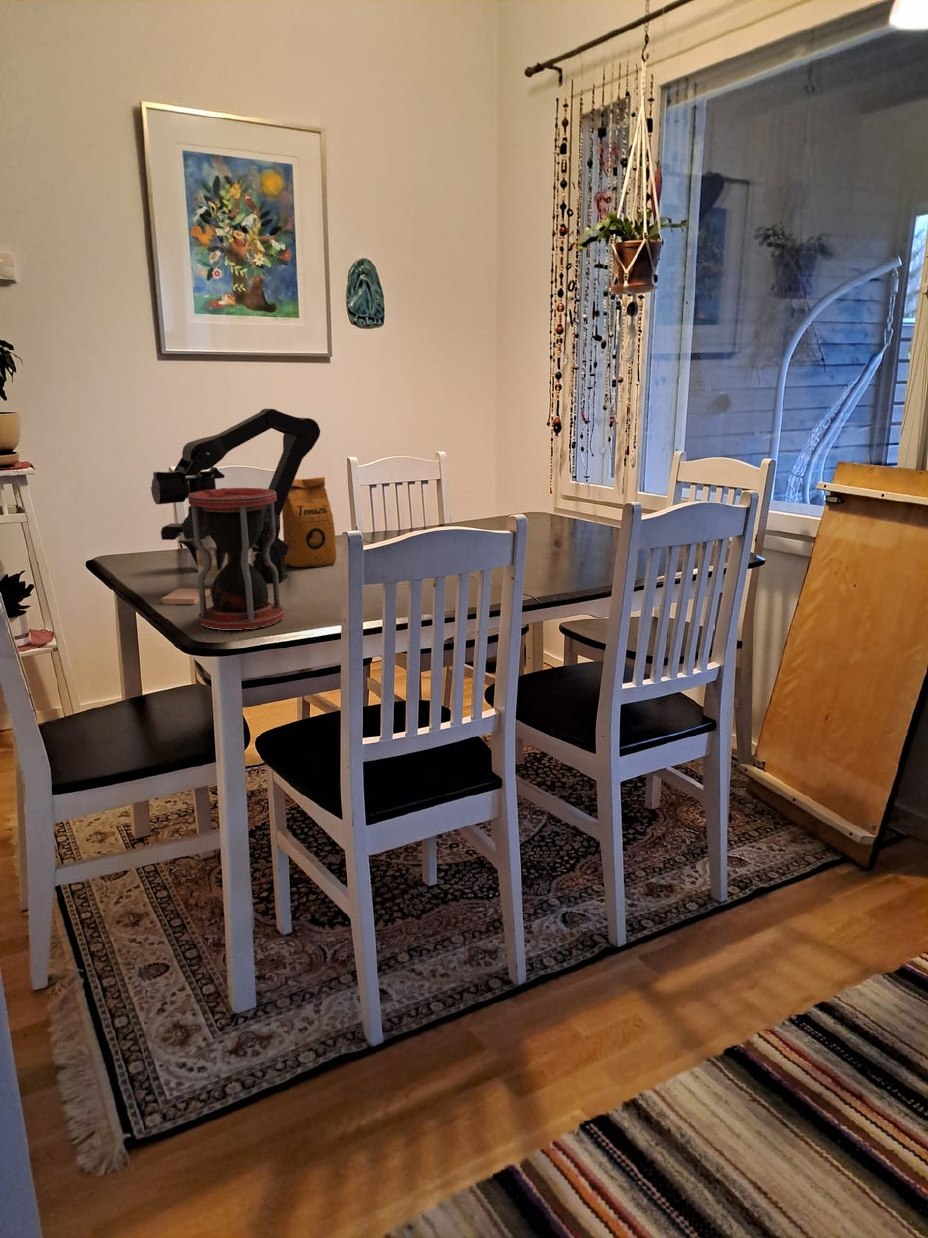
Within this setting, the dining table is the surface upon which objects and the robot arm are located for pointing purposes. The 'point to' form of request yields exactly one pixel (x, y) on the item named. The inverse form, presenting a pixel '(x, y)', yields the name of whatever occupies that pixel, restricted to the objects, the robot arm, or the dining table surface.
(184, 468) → the robot arm
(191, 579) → the dining table surface
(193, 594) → the tile
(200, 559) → the pusher
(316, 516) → the coffee package
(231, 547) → the hourglass
